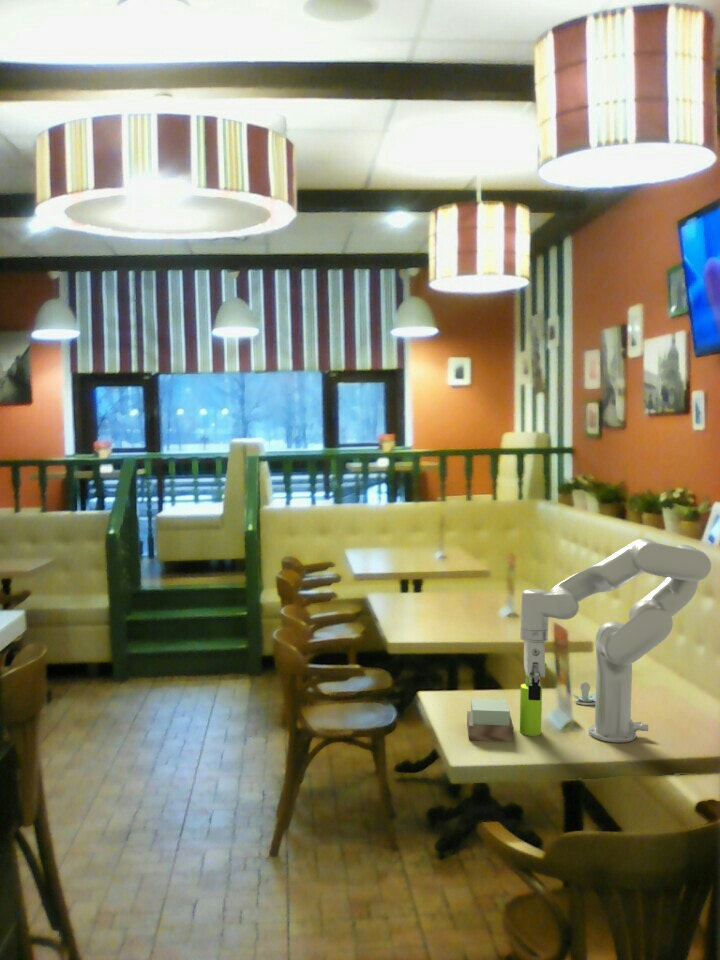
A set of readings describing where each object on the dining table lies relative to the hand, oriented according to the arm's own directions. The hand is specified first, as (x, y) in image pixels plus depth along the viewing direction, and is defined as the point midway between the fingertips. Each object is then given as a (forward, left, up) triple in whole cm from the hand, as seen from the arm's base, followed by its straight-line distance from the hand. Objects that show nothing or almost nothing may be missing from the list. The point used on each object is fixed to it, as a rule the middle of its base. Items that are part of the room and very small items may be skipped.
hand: (532, 694), depth 244 cm
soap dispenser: (0, 0, -11) cm, 11 cm away
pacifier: (-20, -28, -11) cm, 36 cm away
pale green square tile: (+12, +2, -7) cm, 14 cm away
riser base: (+12, +2, -11) cm, 16 cm away
